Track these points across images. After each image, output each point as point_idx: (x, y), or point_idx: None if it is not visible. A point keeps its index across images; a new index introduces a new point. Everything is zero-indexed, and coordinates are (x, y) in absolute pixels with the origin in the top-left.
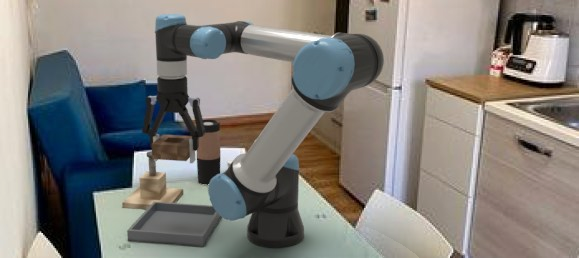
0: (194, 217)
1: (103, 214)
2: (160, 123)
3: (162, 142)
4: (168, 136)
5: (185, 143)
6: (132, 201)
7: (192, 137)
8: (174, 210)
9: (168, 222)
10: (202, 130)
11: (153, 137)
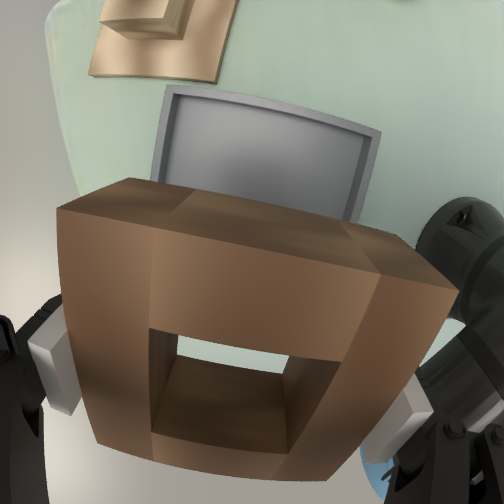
0: (297, 146)
1: (63, 124)
2: (15, 473)
3: (149, 437)
4: (135, 293)
5: (330, 455)
6: (110, 61)
7: (394, 471)
8: (234, 103)
9: (226, 178)
10: (470, 496)
11: (55, 405)
